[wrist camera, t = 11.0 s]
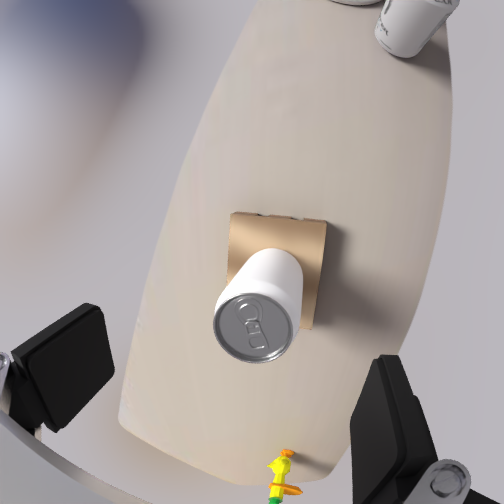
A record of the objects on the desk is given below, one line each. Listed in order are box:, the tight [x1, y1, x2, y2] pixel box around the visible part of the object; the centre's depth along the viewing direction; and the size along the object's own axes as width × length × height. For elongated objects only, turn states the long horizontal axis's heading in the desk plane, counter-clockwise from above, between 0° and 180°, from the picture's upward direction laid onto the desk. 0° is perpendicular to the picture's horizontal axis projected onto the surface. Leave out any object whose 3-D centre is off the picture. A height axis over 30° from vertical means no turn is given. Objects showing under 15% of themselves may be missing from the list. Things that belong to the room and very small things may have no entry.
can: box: [213, 248, 303, 363], centre depth 25 cm, size 6×6×12 cm
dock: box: [227, 212, 327, 330], centre depth 32 cm, size 12×10×3 cm
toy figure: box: [267, 449, 303, 504], centre depth 35 cm, size 7×4×12 cm, turn 72°
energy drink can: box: [375, 0, 460, 58], centre depth 17 cm, size 6×6×15 cm
